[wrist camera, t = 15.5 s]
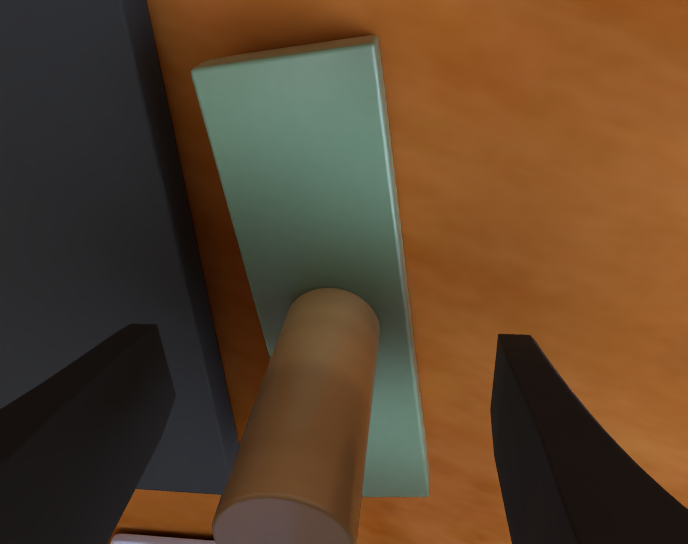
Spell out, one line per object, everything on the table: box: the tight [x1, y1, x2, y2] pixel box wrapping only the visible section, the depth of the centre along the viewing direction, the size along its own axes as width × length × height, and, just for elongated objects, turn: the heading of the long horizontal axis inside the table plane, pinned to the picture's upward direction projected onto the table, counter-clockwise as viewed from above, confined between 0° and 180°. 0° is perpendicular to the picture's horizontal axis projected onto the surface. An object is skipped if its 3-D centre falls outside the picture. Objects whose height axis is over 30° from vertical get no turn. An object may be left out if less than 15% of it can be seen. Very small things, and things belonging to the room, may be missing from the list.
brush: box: [191, 35, 429, 544], centre depth 12 cm, size 12×4×8 cm, turn 9°
